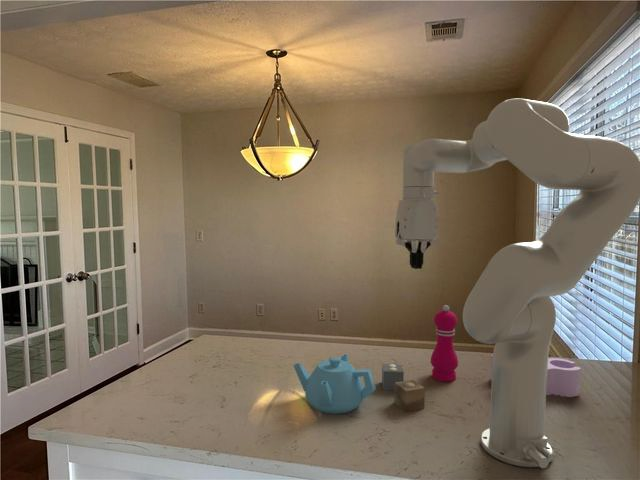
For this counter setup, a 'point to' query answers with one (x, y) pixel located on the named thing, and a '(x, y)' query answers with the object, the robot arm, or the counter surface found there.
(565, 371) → the clip
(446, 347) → the pepper mill
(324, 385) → the teapot
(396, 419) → the counter surface
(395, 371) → the charcoal block
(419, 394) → the walnut block
